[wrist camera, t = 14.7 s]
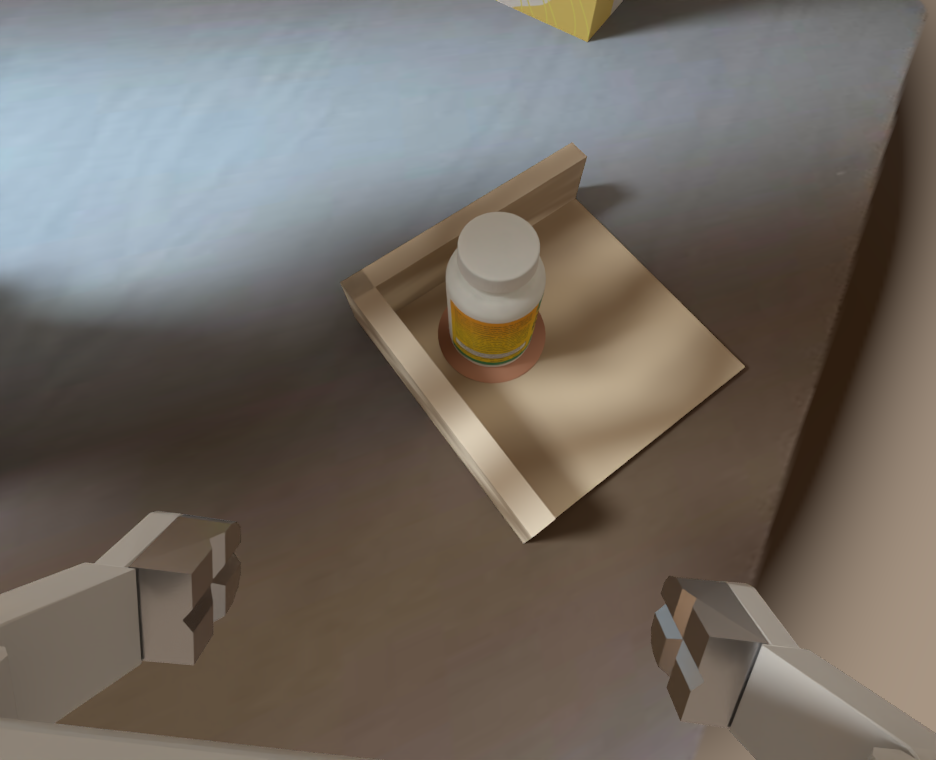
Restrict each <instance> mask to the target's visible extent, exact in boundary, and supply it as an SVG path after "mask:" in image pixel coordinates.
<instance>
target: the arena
mask: <svg viewBox="0 0 936 760" xmlns="http://www.w3.org/2000/svg"><path fill="white" fill-rule="evenodd" d="M586 158H587V156H586V155H585V154H584V153H583V152H582V151H581V150H580V149H578V148H577V147H576V146H575V145H574V144H573V143H570V144H569V145H567V146H565V147H564V148H562V149H560V150H559V151H557V152H555V153H554V154H552V155H550V156H549V157H547V158H546V159H544V160H542V161H541V162H539V163H537V164H536V165H534V166H532V167H531V168H529V169H527V170H526V171H524V172H522V173H521V174H519V175H517V176H516V177H514V178H512V179H511V180H509V181H507V182H506V183H504V184H502V185H501V186H499V187H497V188H496V189H494V190H492V191H491V192H489V193H488V194H486V195H484V196H483V197H481V198H479V199H478V200H476V201H474V202H473V203H471V204H469V205H468V206H466V207H464V208H463V209H461V210H459V211H458V212H456V213H454V214H453V215H451V216H449V217H448V218H446V219H444V220H443V221H441V222H439V223H438V224H436V225H435V226H433V227H431V228H430V229H428V230H426V231H425V232H423V233H421V234H420V235H418V236H416V237H415V238H413V239H411V240H410V241H408V242H406V243H405V244H403V245H401V246H400V247H398V248H396V249H395V250H393V251H391V252H390V253H388V254H386V255H385V256H383V257H381V258H380V259H378V260H377V261H375V262H373V263H372V264H370V265H368V266H367V267H365V268H363V269H362V270H360V271H358V272H357V273H355V274H353V275H352V276H350V277H348V278H347V279H345V280H343V281H342V282H340V283H341V286H342V288H343V290H344V293H345V295H346V297H347V300H348V302H349V304H350V307H351V309H352V311H353V314H354V316H355V318H356V320H357V321H358V322H359V324H360V325H361V326H362V328H363V329H364V330H365V332H366V333H367V334H368V336H369V337H370V338H371V340H372V341H373V342H374V344H375V345H376V346H377V348H378V349H379V350H380V352H381V353H382V354H383V356H384V357H385V359H386V360H387V361H388V363H389V364H390V365H391V367H392V368H393V369H394V371H395V372H396V373H397V375H398V376H399V377H400V379H401V380H402V381H403V383H404V384H405V385H406V387H407V388H408V389H409V391H410V392H411V393H412V395H413V396H414V397H415V399H416V400H417V401H418V403H419V404H420V406H421V407H422V408H423V410H424V411H425V412H426V414H427V415H428V416H429V418H430V419H431V420H432V422H433V423H434V424H435V426H436V427H437V428H438V430H439V431H440V432H441V434H442V435H443V436H444V438H445V439H446V440H447V442H448V443H449V444H450V446H451V447H452V448H453V450H454V451H455V452H456V454H457V455H458V457H459V458H460V459H461V461H462V462H463V463H464V465H465V466H466V467H467V469H468V470H469V471H470V473H471V474H472V475H473V477H474V478H475V479H476V481H477V482H478V483H479V485H480V486H481V487H482V489H483V490H484V491H485V493H486V494H487V495H488V497H489V498H490V499H491V501H492V502H493V503H494V505H495V506H496V508H497V509H498V510H499V512H500V513H501V514H502V516H503V517H504V518H505V520H506V521H507V522H508V524H509V525H510V526H511V528H512V529H513V530H514V532H515V533H516V534H517V536H518V537H519V538H520V540H521V541H522V542H523V544H524V543H525V542H527V541H528V540H530V539H531V538H532V537H534V536H535V535H536V534H538V533H539V532H540V531H541V530H543V529H544V528H545V527H546V526H548V525H549V524H550V523H551V522H553V521H554V520H555V519H556V517H558V516H559V515H560V514H561V513H563V512H564V511H565V510H566V509H568V508H569V507H570V506H571V505H573V504H574V503H575V502H576V501H578V500H579V499H580V498H581V497H583V496H584V495H585V494H586V493H588V492H589V491H590V490H591V489H593V488H594V487H595V486H597V485H598V484H599V483H600V482H602V481H603V480H604V479H605V478H607V477H608V476H609V475H610V474H612V473H613V472H614V471H615V470H617V469H618V468H619V467H620V466H622V465H623V464H624V463H625V462H627V461H628V460H629V459H630V458H632V457H633V456H634V455H635V454H637V453H638V452H639V451H640V450H642V449H643V448H644V447H645V446H647V445H648V444H649V443H650V442H652V441H653V440H654V439H655V438H657V437H658V436H659V435H660V434H662V433H663V432H664V431H665V430H667V429H668V428H669V427H671V426H672V425H673V424H674V423H676V422H677V421H678V420H679V419H681V418H682V417H683V416H684V415H686V414H687V413H688V412H689V411H691V410H692V409H693V408H694V407H696V406H697V405H698V404H699V403H701V402H702V401H703V400H704V399H706V398H707V397H708V396H709V395H711V394H712V393H713V392H714V391H716V390H717V389H718V388H719V387H721V386H722V385H723V384H724V383H726V382H727V381H728V380H729V379H731V378H732V377H733V376H734V375H736V374H737V373H738V372H739V371H741V370H742V369H743V368H744V367H745V366H744V365H743V364H742V363H741V362H740V361H739V360H738V359H737V358H736V357H735V356H734V355H733V354H732V353H731V352H730V351H729V350H728V349H727V348H726V347H725V346H724V345H723V344H722V343H721V342H720V341H719V340H718V339H717V338H716V337H715V336H714V335H713V334H712V333H711V332H710V331H709V330H708V329H707V328H706V327H705V326H704V325H703V324H702V323H701V322H700V321H699V320H698V319H697V318H696V317H695V316H694V315H693V314H692V313H691V312H690V311H689V310H688V309H687V308H686V307H684V306H683V305H682V304H681V303H680V302H679V301H678V300H677V299H676V298H675V297H674V296H673V295H672V294H671V293H670V292H669V291H668V290H667V289H666V288H665V287H664V286H663V285H662V284H661V283H660V282H659V281H658V280H657V279H656V278H655V277H654V276H653V275H652V274H651V273H650V272H649V271H648V270H647V269H646V268H645V267H644V266H643V265H642V264H641V263H640V262H639V261H638V260H637V259H636V258H635V257H634V256H633V255H632V254H631V253H630V252H629V251H628V250H627V249H626V248H625V247H624V246H623V245H622V244H621V243H620V242H619V241H618V240H617V239H616V238H615V237H614V236H613V235H612V234H611V233H610V232H609V231H608V230H607V229H606V228H605V227H604V226H603V225H602V224H601V223H600V222H599V221H598V220H597V219H596V218H595V217H594V216H593V215H592V214H591V213H590V212H589V211H588V210H587V209H586V208H585V207H584V206H583V205H582V204H581V203H580V202H579V201H578V200H577V199H576V194H577V191H578V187H579V184H580V180H581V176H582V173H583V169H584V166H585V162H586ZM490 212H507V213H512V214H515V215H517V216H519V217H521V218H523V219H524V220H526V221H527V222H528V223H529V224H530V225H531V226H532V227H533V228H534V230H535V231H536V233H537V235H538V238H539V241H540V255H539V256H540V258H541V260H542V262H543V265H544V268H545V273H546V284H545V290H544V294H543V297H542V301H541V304H540V308H539V312H538V315H537V320H536V323H535V327H534V331H533V334H532V338H531V341H530V343H529V345H528V347H527V349H526V350H525V351H524V353H523V354H522V355H521V356H520V357H519V358H518V359H516V360H515V361H514V362H512V363H510V364H507V365H504V366H500V367H484V366H480V365H477V364H474V363H472V362H470V361H469V360H467V359H466V358H464V357H463V356H462V355H461V354H460V353H459V352H458V351H457V350H456V348H455V347H454V345H453V343H452V340H451V337H450V333H449V322H448V306H447V294H446V269H447V265H448V262H449V260H450V258H451V256H452V254H453V253H454V251H455V250H456V249H457V246H458V239H459V236H460V233H461V231H462V230H463V228H464V227H465V226H466V224H467V223H469V222H470V221H471V220H472V219H474V218H475V217H477V216H480V215H482V214H485V213H490Z"/></svg>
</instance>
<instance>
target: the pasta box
mask: <svg viewBox="0 0 936 760" xmlns="http://www.w3.org/2000/svg"><path fill="white" fill-rule="evenodd" d="M496 1H498V2H500V3H503V4H505V5H507V6H509V7H511V8H514V9H516V10H518V11H520V12H522V13H525V14H527V15H529V16H531V17H533V18H536V19H538V20H540V21H542V22H544V23H547V24H549V25H551V26H553V27H555V28H558V29H560V30H562V31H564V32H566V33H569V34H571V35H573V36H575V37H577V38H580V39H582V40H584V41H586V42H588V41H589V40H590V39H591V37H592V36H593V35H594V34H595V33H596V32H597V30H598V29H599V28H600V27H601V26H602V25H603V24H604V22H605V21H606V20H607V19H608V18H609V17H610V15H611V14H612V13H613V12H614V11H615V10H616V8H617V7H618V6H619V5H620V4H621V3H622V1H623V0H496Z"/></svg>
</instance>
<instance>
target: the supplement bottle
mask: <svg viewBox="0 0 936 760" xmlns="http://www.w3.org/2000/svg"><path fill="white" fill-rule="evenodd" d="M539 255H540V241H539V238H538V235H537V233H536V231H535V230H534V228H533V227H532V226H531V225H530V224H529V223H528V222H527V221H526V220H524V219H523V218H521V217H519V216H517V215H515V214H512V213H507V212H490V213H485V214H482V215H480V216H477V217H475V218H474V219H472V220H471V221H470V222H469V223H467V224H466V226H465V227H464V228H463V230H462V231H461V233H460V236H459V239H458V246H457V249H456V250H455V251H454V253H453V254H452V256H451V258H450V260H449V262H448V265H447V269H446V294H447V306H448V322H449V333H450V337H451V340H452V343H453V345H454V347H455V348H456V350H457V351H458V352H459V353H460V354H461V355H462V356H463V357H464V358H466V359H467V360H469V361H470V362H472V363H474V364H477V365H480V366H484V367H500V366H504V365H507V364H510V363H512V362H514V361H515V360H516V359H518V358H519V357H520V356H521V355H522V354H523V353H524V351H525V350H526V349H527V347H528V345H529V343H530V341H531V338H532V334H533V331H534V327H535V323H536V320H537V315H538V312H539V308H540V304H541V301H542V297H543V294H544V290H545V284H546V273H545V268H544V265H543V262H542V260H541V258H540V256H539Z"/></svg>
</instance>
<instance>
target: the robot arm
mask: <svg viewBox="0 0 936 760" xmlns="http://www.w3.org/2000/svg"><path fill="white" fill-rule="evenodd" d="M240 543H241V530H240V526H239V524H238V523H237V522H234V521H227V520H220V519H214V518H207V517H200V516H193V515H186V514H184V515H182V514H179V513H171V512H162V511H156V512H151V513H150V514H148V515H147V516H146V517H145V518H144V519H143V520H142V521H141V522H139V523H138V524H137V525H136V526H135V527H134V528H133V529H132V530H131V531H129V532H128V533H127V534H126V535H125V536H124V537H123V538H122V539H121V540H120V541H118V542H117V543H116V544H115V545H114V546H113V547H112V548H111V549H110V550H108V551H107V552H106V553H105V554H104V555H103V556H102V557H101V558H100V559H99V560H97V561H96V562H95V563H94V564H93V563H82V564H80V565H77V566H74V567H72V568H69V569H66V570H64V571H61V572H58V573H56V574H53V575H50V576H48V577H45V578H42V579H40V580H37V581H34V582H32V583H29V584H26V585H24V586H21V587H18V588H16V589H13V590H10V591H8V592H5V593H2V594H0V760H379V759H370V758H361V757H351V756H342V755H333V754H324V753H315V752H306V751H297V750H288V749H279V748H270V747H261V746H252V745H243V744H234V743H225V742H216V741H207V740H198V739H189V738H180V737H171V736H162V735H153V734H144V733H135V732H126V731H117V730H108V729H99V728H90V727H81V726H72V725H63V724H54V723H55V722H57V721H58V720H60V719H61V718H63V717H64V716H66V715H67V714H69V713H70V712H71V711H73V710H74V709H76V708H77V707H79V706H80V705H82V704H83V703H85V702H86V701H88V700H89V699H90V698H92V697H93V696H95V695H96V694H98V693H99V692H101V691H102V690H104V689H105V688H107V687H108V686H109V685H111V684H112V683H114V682H115V681H117V680H118V679H120V678H121V677H123V676H124V675H126V674H127V673H129V672H130V671H131V670H133V669H134V668H136V667H137V666H139V665H140V664H141V663H142V662H141V661H151V662H163V663H174V664H186V665H194V664H195V663H196V661H197V659H198V658H199V656H200V655H201V653H202V652H203V650H204V648H205V647H206V645H207V644H208V642H209V641H210V639H211V637H212V636H213V622H214V621H216V620H218V619H220V618H221V617H223V616H225V615H226V613H227V612H228V610H229V608H230V607H231V605H232V603H233V601H234V598H235V595H236V592H237V589H238V586H239V580H240V574H241V562H240V561H239V559H238V558H237V557H236V555H235V554H234V551H235V550H236V548H237V547H238V545H239V544H240ZM661 595H662V597H663V599H664V601H665V603H666V604H665V605H664V606H663V607H662V608H660V609H659V610H658V611H657V612H655V615H654V619H653V623H652V627H651V644H652V649H653V654H654V657H655V660H656V662H657V665H658V667H659V668H660V669H661V670H663V671H664V672H665V673H666V674H667V675H668V676H669V677H670V679H669V682H668V685H667V689H668V692H669V694H670V697H671V699H672V701H673V704H674V706H675V709H676V711H677V713H678V716H679V718H680V721H682V722H689V723H696V724H703V725H709V726H716V727H723V728H730V730H729V731H730V732H731V733H732V734H733V735H734V737H735V738H736V739H737V740H738V741H739V742H740V743H741V744H742V745H743V746H744V747H745V748H746V749H747V750H748V751H749V752H750V753H751V755H752V756H753V757H754V758H755V759H756V760H936V733H935V732H933V731H932V730H930V729H929V728H927V727H926V726H924V725H923V724H921V723H920V722H918V721H917V720H915V719H913V718H912V717H910V716H909V715H907V714H906V713H904V712H903V711H901V710H900V709H898V708H897V707H895V706H894V705H892V704H891V703H889V702H888V701H886V700H885V699H883V698H881V697H880V696H879V695H877V694H875V693H874V692H873V691H871V690H870V689H868V688H866V687H865V686H863V685H862V684H860V683H859V682H857V681H856V680H854V679H853V678H851V677H850V676H848V675H847V674H845V673H844V672H842V671H841V670H839V669H838V668H836V667H835V666H833V665H831V664H830V663H829V662H827V661H826V660H824V659H822V658H821V657H819V656H818V655H816V654H815V653H813V652H812V651H810V650H808V649H800V647H799V646H798V645H797V643H796V642H795V641H794V639H793V638H792V637H791V635H789V633H788V632H787V630H786V629H785V628H784V626H783V625H782V624H781V622H780V621H779V620H778V618H777V617H776V616H775V614H774V613H773V612H772V611H771V609H770V608H769V607H768V605H767V604H766V603H765V601H764V600H763V599H762V597H761V596H760V595H759V593H758V592H757V591H756V589H755V588H754V587H752V586H751V585H749V584H747V583H738V582H727V581H720V582H719V581H710V580H701V579H692V578H683V577H674V576H668V578H667V579H666V581H665V582H664V585H663V588H662V591H661Z"/></svg>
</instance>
